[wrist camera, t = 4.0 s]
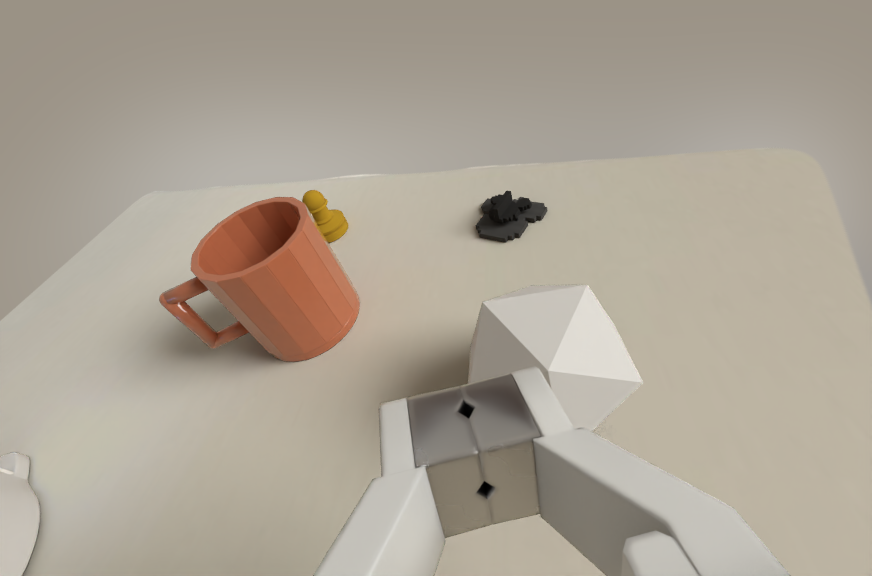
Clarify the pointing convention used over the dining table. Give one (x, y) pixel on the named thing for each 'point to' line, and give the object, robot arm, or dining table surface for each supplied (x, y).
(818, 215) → the dining table surface
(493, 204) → the block figure
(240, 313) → the mug
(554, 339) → the die
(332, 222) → the chess piece
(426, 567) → the robot arm
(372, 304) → the dining table surface
